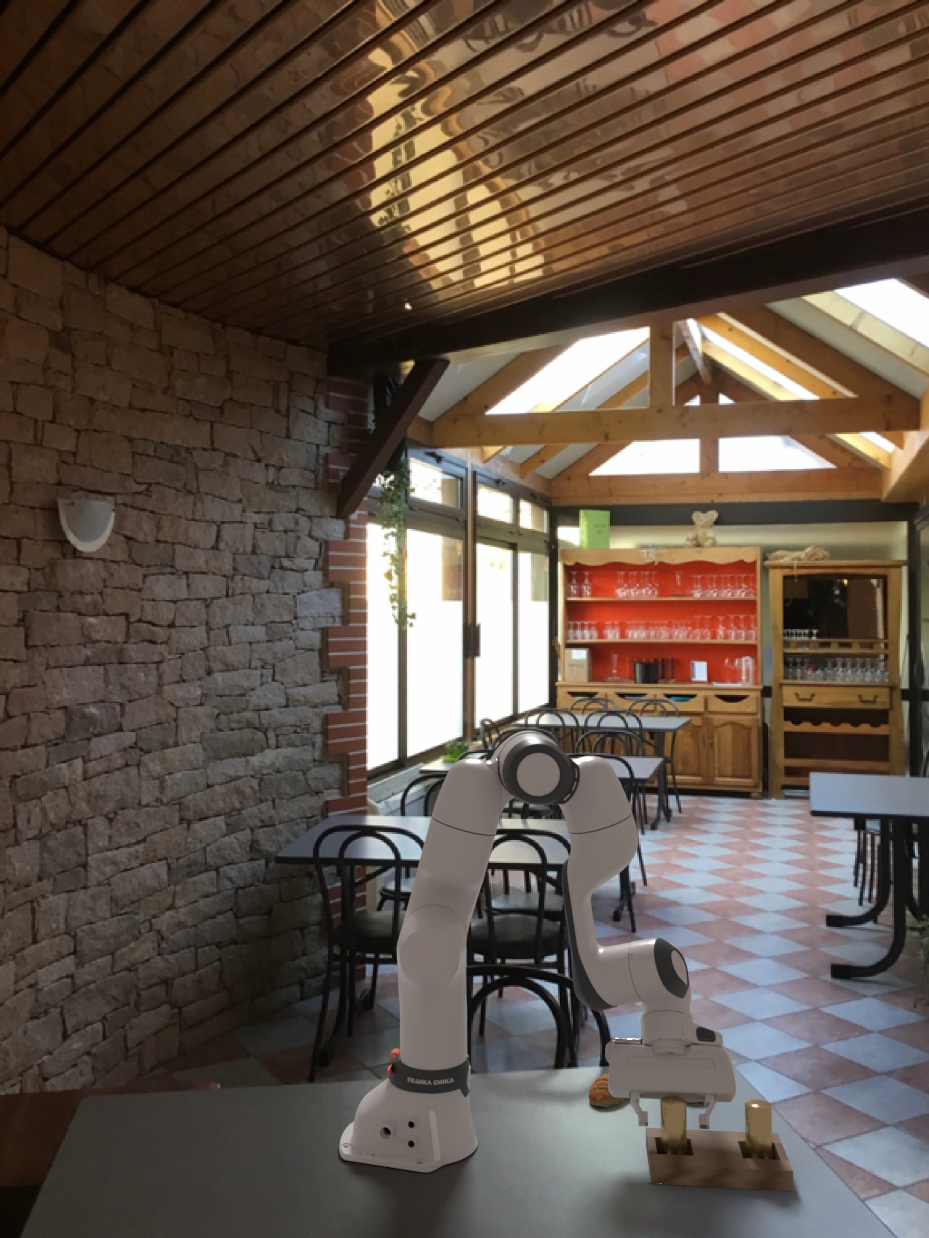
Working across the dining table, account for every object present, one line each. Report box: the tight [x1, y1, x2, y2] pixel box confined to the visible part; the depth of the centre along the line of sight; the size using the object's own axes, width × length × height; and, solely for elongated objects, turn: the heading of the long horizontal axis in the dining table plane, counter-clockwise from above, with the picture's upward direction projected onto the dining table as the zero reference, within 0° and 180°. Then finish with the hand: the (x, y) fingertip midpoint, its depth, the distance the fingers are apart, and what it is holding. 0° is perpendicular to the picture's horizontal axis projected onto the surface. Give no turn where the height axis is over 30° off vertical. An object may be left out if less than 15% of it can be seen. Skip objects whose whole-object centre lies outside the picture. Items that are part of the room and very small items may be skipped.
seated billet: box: [744, 1098, 773, 1160], centre depth 161 cm, size 4×4×10 cm
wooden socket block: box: [645, 1127, 794, 1192], centre depth 162 cm, size 21×12×3 cm, turn 84°
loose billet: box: [659, 1096, 688, 1155], centre depth 163 cm, size 4×4×10 cm
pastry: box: [588, 1071, 628, 1108], centre depth 187 cm, size 9×7×4 cm
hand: (673, 1126), depth 162 cm, fingers open, 8 cm apart
